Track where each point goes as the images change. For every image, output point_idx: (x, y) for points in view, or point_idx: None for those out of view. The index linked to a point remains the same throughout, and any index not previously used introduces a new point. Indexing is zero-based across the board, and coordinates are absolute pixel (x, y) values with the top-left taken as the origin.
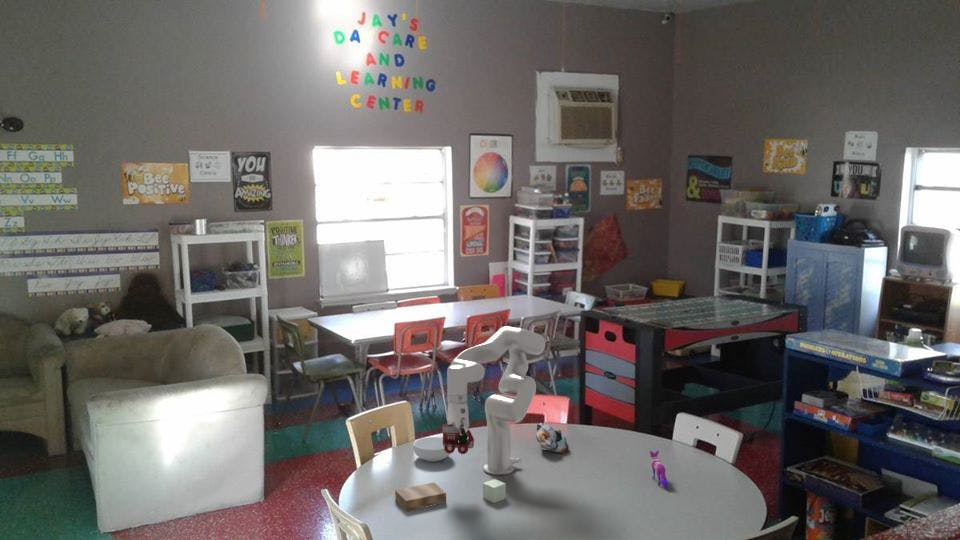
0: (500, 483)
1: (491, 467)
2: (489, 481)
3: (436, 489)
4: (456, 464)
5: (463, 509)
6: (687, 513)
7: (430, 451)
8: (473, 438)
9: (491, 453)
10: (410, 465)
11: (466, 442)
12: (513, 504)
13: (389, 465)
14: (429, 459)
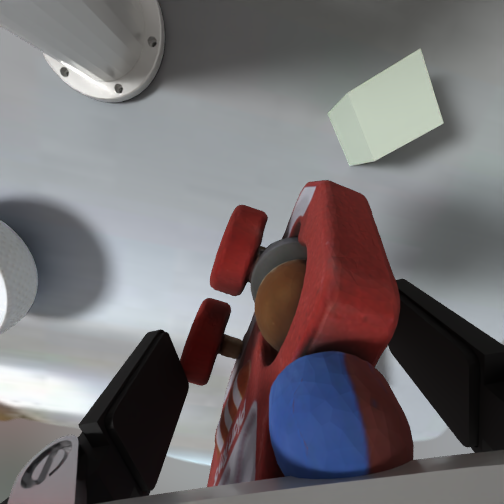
0: (410, 76)
1: (124, 64)
2: (368, 126)
3: None
4: (49, 195)
5: (408, 247)
6: None
7: (15, 301)
8: (345, 188)
9: (75, 22)
10: (59, 330)
11: (410, 289)
12: (444, 61)
13: (59, 378)
14: (37, 287)
